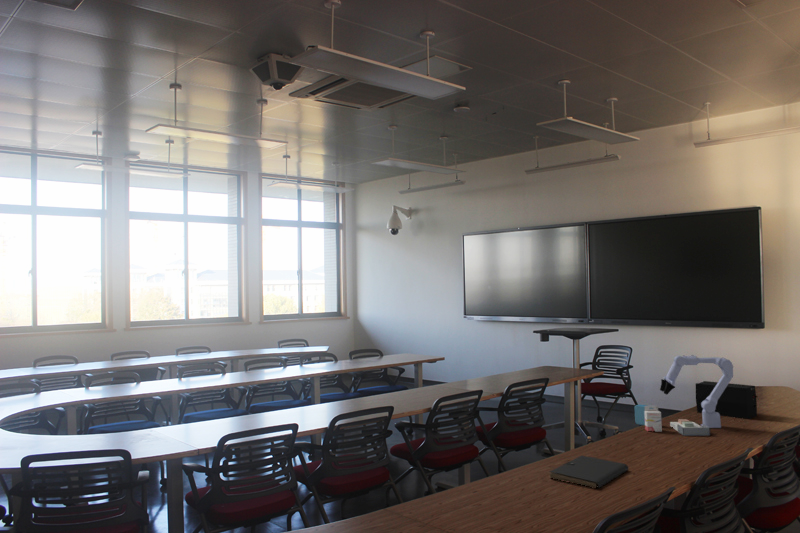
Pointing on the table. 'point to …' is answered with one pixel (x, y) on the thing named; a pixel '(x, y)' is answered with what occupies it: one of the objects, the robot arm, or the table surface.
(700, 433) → the bin
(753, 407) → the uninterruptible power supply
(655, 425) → the ink cartridge box
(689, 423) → the green tile
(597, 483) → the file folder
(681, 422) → the terracotta tile
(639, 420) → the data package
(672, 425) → the ledge board
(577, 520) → the table surface
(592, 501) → the table surface
